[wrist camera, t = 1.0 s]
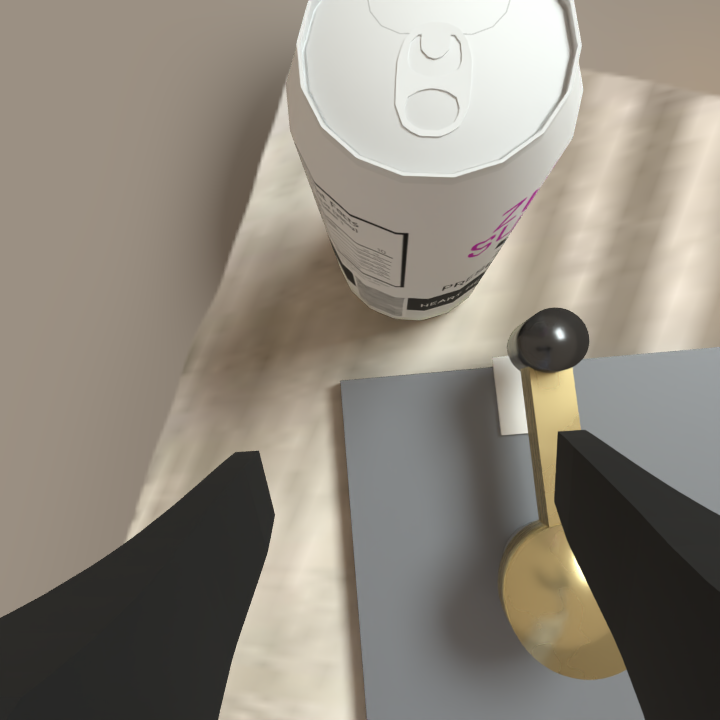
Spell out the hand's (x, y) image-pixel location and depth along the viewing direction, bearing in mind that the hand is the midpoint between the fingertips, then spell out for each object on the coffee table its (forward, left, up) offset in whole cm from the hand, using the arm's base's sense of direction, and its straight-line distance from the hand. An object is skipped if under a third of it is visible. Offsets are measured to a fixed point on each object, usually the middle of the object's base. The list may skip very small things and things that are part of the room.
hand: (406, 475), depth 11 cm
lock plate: (-5, -8, -14) cm, 17 cm away
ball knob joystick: (-2, -7, -11) cm, 13 cm away
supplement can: (+10, -2, -14) cm, 18 cm away
